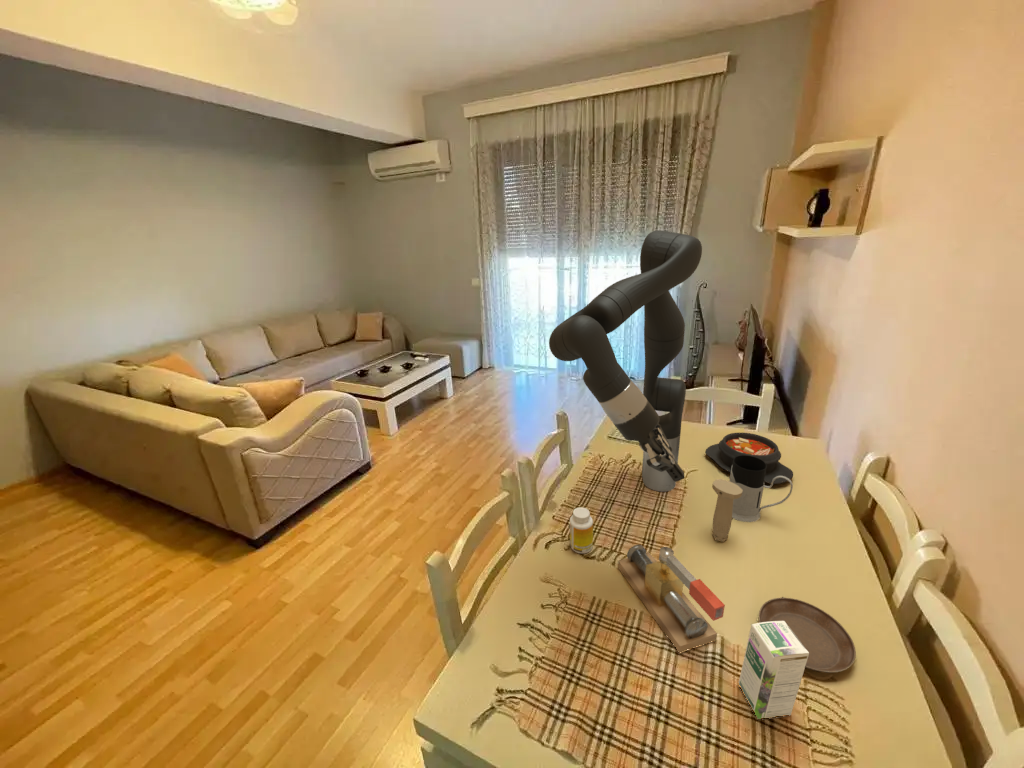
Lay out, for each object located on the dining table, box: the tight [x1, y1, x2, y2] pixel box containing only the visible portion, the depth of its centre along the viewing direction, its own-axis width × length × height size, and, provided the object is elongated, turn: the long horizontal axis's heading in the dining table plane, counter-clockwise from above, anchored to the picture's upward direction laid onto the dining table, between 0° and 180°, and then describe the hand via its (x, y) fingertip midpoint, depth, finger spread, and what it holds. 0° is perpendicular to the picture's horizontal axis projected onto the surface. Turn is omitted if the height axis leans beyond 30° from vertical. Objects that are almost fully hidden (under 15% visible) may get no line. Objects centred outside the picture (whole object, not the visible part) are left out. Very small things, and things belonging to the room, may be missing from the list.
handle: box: [711, 478, 743, 543], centre depth 101 cm, size 5×6×15 cm
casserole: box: [705, 432, 794, 485], centre depth 130 cm, size 25×19×8 cm
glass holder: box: [728, 455, 794, 523], centre depth 108 cm, size 9×14×15 cm, turn 50°
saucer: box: [758, 597, 857, 674], centre depth 78 cm, size 15×15×3 cm
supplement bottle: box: [569, 507, 594, 554], centre depth 102 cm, size 6×6×10 cm
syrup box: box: [738, 621, 809, 720], centre depth 67 cm, size 6×6×14 cm
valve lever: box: [658, 546, 726, 621], centre depth 78 cm, size 15×3×3 cm, turn 18°
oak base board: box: [617, 551, 718, 654], centre depth 88 cm, size 22×8×2 cm, turn 16°
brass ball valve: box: [626, 544, 708, 639], centre depth 86 cm, size 21×5×9 cm, turn 16°
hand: (679, 477), depth 81 cm, fingers closed
